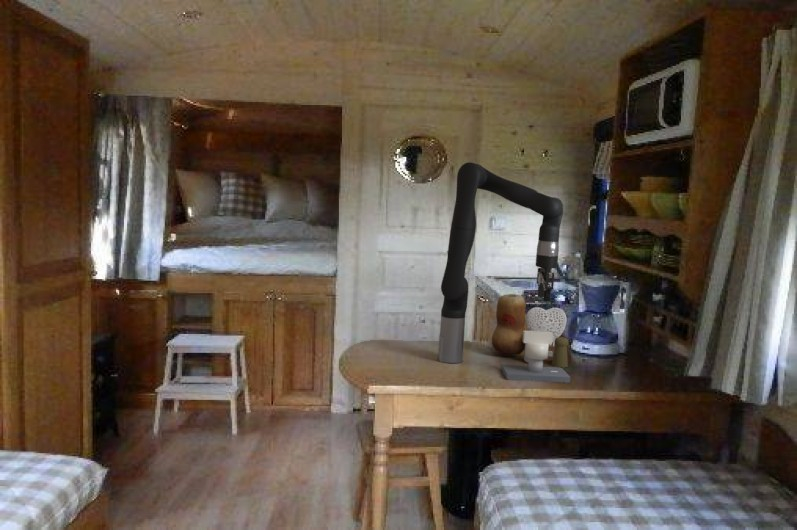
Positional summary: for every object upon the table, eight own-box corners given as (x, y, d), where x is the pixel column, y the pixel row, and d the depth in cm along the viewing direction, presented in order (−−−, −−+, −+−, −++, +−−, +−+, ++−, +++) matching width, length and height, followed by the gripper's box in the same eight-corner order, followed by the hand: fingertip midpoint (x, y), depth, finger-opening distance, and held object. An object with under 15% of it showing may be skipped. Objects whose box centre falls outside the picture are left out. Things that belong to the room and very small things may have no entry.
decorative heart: (559, 343, 272) (562, 305, 270) (568, 349, 261) (572, 310, 260) (520, 343, 270) (522, 304, 268) (528, 349, 259) (531, 309, 257)
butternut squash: (487, 357, 243) (491, 295, 240) (494, 350, 255) (498, 290, 252) (522, 362, 238) (527, 298, 235) (528, 354, 250) (532, 294, 248)
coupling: (524, 358, 215) (526, 333, 214) (520, 353, 223) (521, 328, 222) (554, 360, 215) (556, 335, 214) (549, 354, 223) (551, 330, 222)
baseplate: (506, 379, 214) (508, 360, 213) (501, 369, 226) (502, 351, 225) (569, 382, 214) (571, 363, 213) (561, 372, 226) (562, 354, 225)
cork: (568, 368, 232) (570, 340, 231) (551, 366, 233) (554, 338, 232) (567, 364, 238) (569, 336, 237) (551, 362, 239) (553, 335, 238)
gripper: (532, 251, 224) (528, 295, 225) (541, 255, 209) (537, 302, 211) (552, 252, 224) (548, 296, 226) (563, 256, 210) (559, 303, 211)
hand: (543, 299), depth 218 cm, fingers open, 8 cm apart
